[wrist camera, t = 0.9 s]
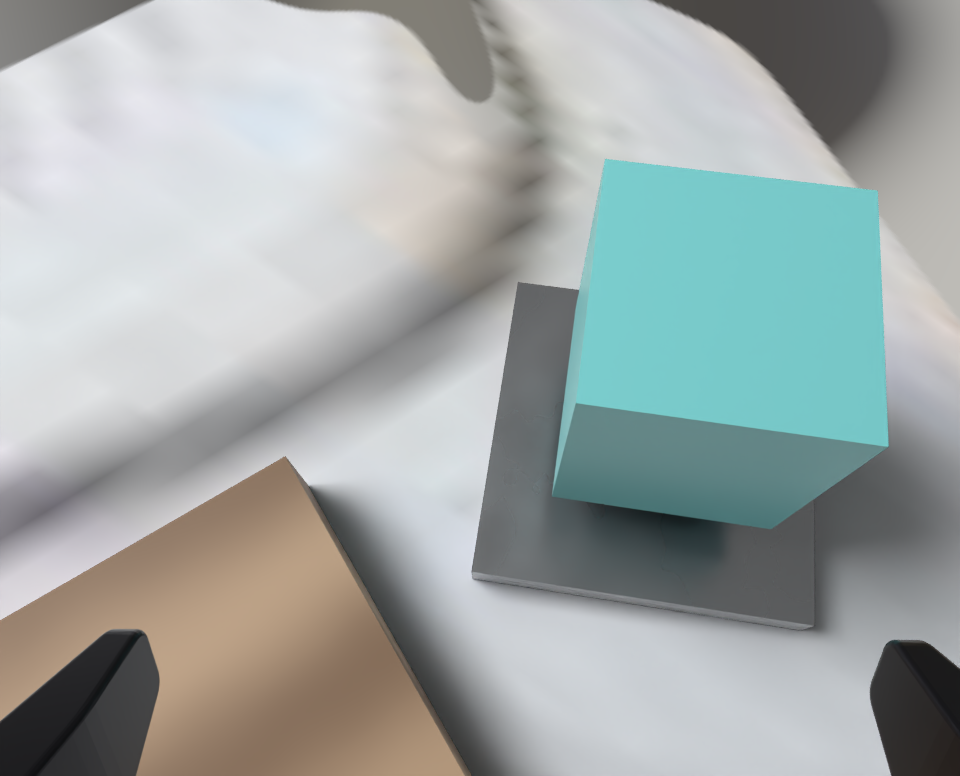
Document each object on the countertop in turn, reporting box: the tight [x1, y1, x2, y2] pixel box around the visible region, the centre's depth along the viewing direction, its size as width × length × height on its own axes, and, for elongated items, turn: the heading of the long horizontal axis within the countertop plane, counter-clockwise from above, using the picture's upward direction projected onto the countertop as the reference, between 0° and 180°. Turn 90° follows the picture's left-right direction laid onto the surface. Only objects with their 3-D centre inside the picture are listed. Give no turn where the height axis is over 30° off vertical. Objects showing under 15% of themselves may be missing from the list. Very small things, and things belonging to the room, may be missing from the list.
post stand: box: [472, 282, 815, 630], centre depth 23 cm, size 10×10×7 cm
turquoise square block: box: [552, 159, 889, 529], centre depth 20 cm, size 6×6×7 cm
